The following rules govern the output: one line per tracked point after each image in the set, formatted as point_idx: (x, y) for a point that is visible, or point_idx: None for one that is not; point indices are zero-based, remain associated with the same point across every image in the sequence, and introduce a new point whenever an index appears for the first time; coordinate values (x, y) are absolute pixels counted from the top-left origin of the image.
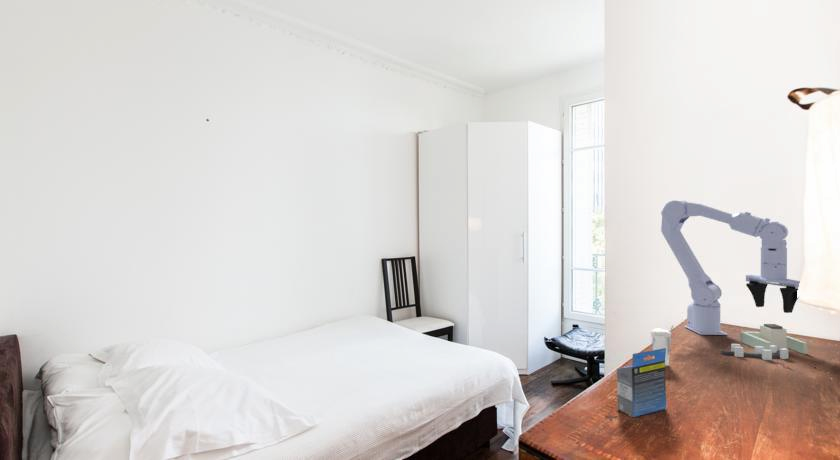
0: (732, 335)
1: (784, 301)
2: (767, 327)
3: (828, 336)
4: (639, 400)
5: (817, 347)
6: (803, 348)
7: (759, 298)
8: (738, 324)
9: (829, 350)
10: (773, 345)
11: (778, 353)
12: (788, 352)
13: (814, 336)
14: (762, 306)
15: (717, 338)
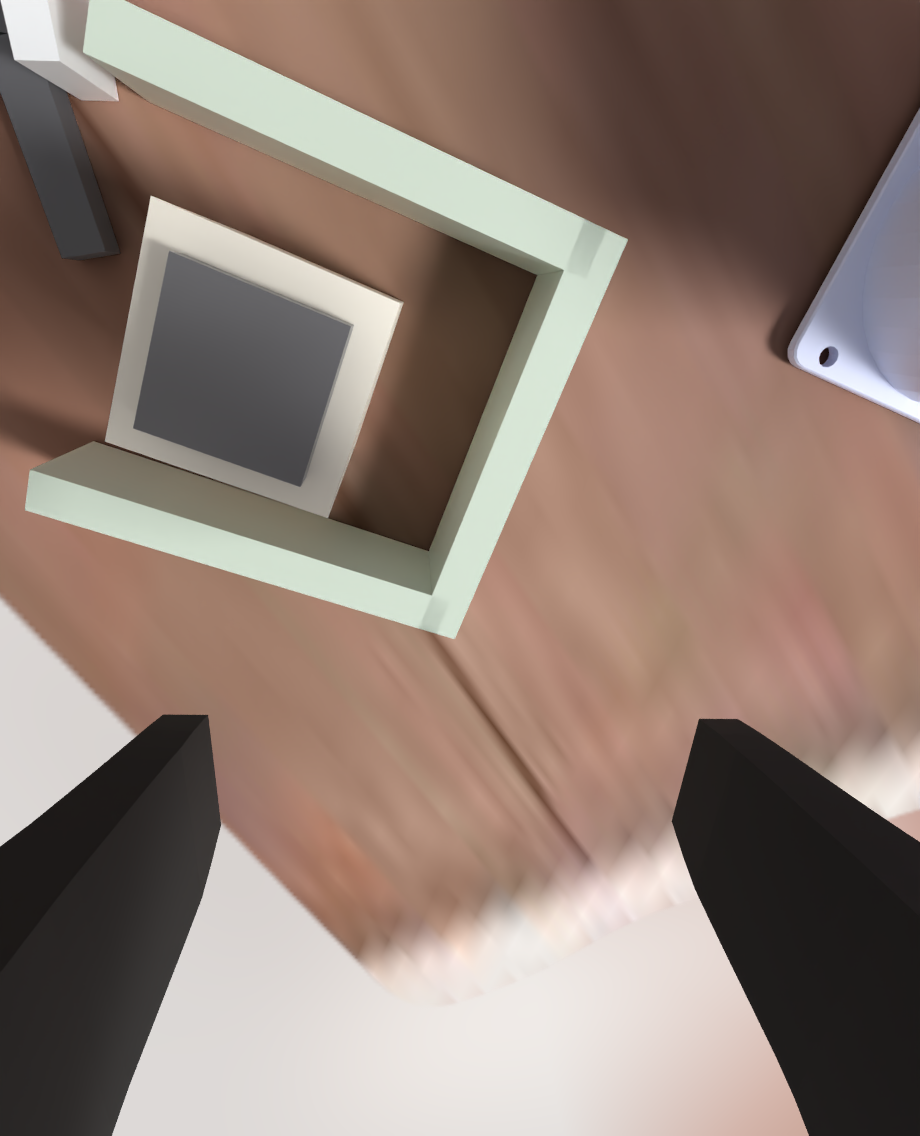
0: (755, 415)
1: (15, 897)
2: (265, 281)
3: (424, 1006)
4: None
5: (241, 734)
6: (65, 456)
7: (795, 905)
8: (896, 791)
9: None
10: (42, 32)
11: None
12: (58, 245)
13: (454, 946)
14: (679, 805)
15: (781, 106)
